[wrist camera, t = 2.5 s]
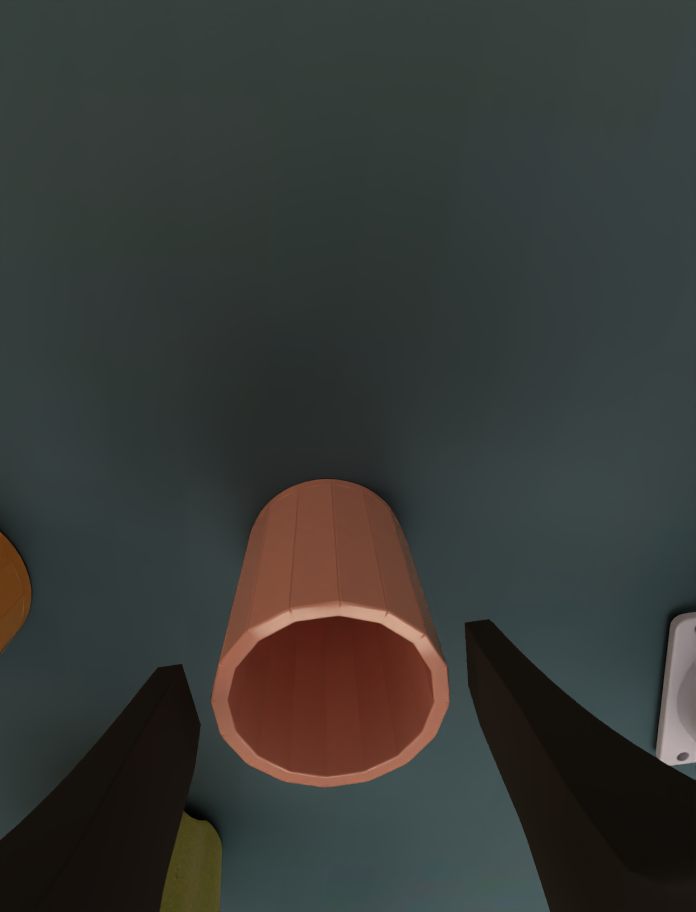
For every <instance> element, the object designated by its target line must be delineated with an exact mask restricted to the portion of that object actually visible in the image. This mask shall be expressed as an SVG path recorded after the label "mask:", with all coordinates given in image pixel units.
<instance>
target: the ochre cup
mask: <svg viewBox="0 0 696 912" xmlns="http://www.w3.org/2000/svg"><path fill="white" fill-rule="evenodd" d="M30 604H31V584H30V578H29V575H28V572H27V569H26V566H25V564H24V562H23V560H22V558H21V556H20V555H19V553H18V552H17V550H16V549H15V547H14V546H13V545H12V544H11V543H10V541H9V540H8V539H7V538H6V537H5V536H4V535H3V534H2V533H1V532H0V655H1V654H2V653H3V652H4V650H5V649H6V648H7V646H8V645H9V643H10V642H11V640H12V639H13V637H14V636H15V635H16V634H17V632H18V631H19V630H20V629H21V628H22V626H23V624H24V622H25V620H26V619H27V616H28V613H29V610H30Z"/></svg>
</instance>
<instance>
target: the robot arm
mask: <svg viewBox="0 0 696 912" xmlns="http://www.w3.org/2000/svg"><path fill="white" fill-rule="evenodd" d="M465 636H466V653H467V670H468V686H469V689H470V692H471V696H472V699H473V703H474V706H475V709H476V713H477V716H478V719H479V723H480V726H481V728H482V731H483V733H484V736H485V738H486V740H487V743H488V745H489V748H490V750H491V752H492V755H493V757H494V760H495V762H496V764H497V767H498V769H499V771H500V774H501V776H502V779H503V781H504V783H505V786H506V788H507V790H508V793H509V795H510V798H511V800H512V802H513V805H514V807H515V809H516V812H517V814H518V817H519V819H520V822H521V824H522V827H523V830H524V832H525V835H526V838H527V841H528V844H529V847H530V850H531V853H532V856H533V859H534V862H535V865H536V868H537V871H538V875H539V878H540V881H541V884H542V887H543V890H544V893H545V896H546V900H547V903H548V906H549V909H550V912H696V780H694V779H692V778H690V777H688V776H686V775H685V774H683V773H681V772H679V771H678V770H676V769H674V768H672V767H671V766H672V765H679V764H685V763H692V762H696V612H692V613H685V614H681V615H678V616H676V617H675V618H674V619H673V620H672V622H671V625H670V631H669V640H668V649H667V658H666V667H665V675H664V684H663V693H662V702H661V711H660V719H659V728H658V737H657V746H656V756H657V758H658V759H657V758H656V757H654V756H653V755H651V754H649V753H648V752H646V751H644V750H643V749H641V748H640V747H638V746H636V745H635V744H633V743H632V742H630V741H629V740H627V739H626V738H624V737H623V736H621V735H620V734H618V733H617V732H615V731H614V730H613V729H611V728H610V727H609V726H607V725H606V724H604V723H603V722H602V721H600V720H599V719H598V718H596V717H595V716H594V715H592V714H591V713H590V712H588V711H587V710H586V709H585V708H583V707H582V706H581V705H580V704H578V703H577V702H576V701H575V700H573V699H572V698H571V697H570V696H569V695H567V694H566V693H565V692H564V691H563V690H561V689H560V688H559V687H558V686H557V685H556V684H555V683H553V682H552V681H551V680H550V679H549V678H548V677H547V676H546V675H545V674H544V673H543V672H541V671H540V670H539V669H538V668H537V667H536V666H535V665H534V664H533V663H532V662H531V661H530V660H529V659H528V658H527V657H526V656H525V655H524V654H523V653H522V652H521V651H520V650H519V649H518V648H517V647H516V646H515V645H514V644H513V643H512V642H511V641H510V640H509V639H508V638H507V637H506V636H505V635H504V634H503V633H502V632H501V631H500V630H499V629H498V628H497V626H496V625H495V624H494V623H493V622H492V621H490V620H489V619H487V620H480V621H473V622H467V623H465ZM200 726H201V724H200V721H199V718H198V715H197V711H196V708H195V705H194V702H193V698H192V695H191V692H190V689H189V685H188V682H187V679H186V676H185V672H184V669H183V666H182V664H179V665H172V666H165V667H158V668H157V669H156V671H155V672H154V673H153V674H152V675H151V677H150V678H149V679H148V680H147V682H146V683H145V684H144V685H143V687H142V688H141V689H140V690H139V692H138V693H137V694H136V695H135V697H134V698H133V699H132V700H131V702H130V703H129V704H128V705H127V707H126V708H125V709H124V710H123V712H122V713H121V714H120V715H119V717H118V718H117V719H116V720H115V721H114V723H113V724H112V725H111V726H110V727H109V729H108V730H107V731H106V732H105V733H104V735H103V736H102V737H101V738H100V739H99V741H98V742H97V743H96V744H95V745H94V746H93V747H92V749H91V750H90V751H89V752H88V753H87V754H86V755H85V756H84V758H83V759H82V760H81V761H80V762H79V763H78V764H77V765H76V767H75V768H74V769H73V770H72V771H71V772H70V773H69V774H68V775H67V777H66V778H65V779H64V780H63V781H62V782H61V783H60V784H59V785H58V786H57V787H56V788H55V789H54V790H53V791H52V792H51V793H50V794H49V795H48V796H47V797H46V798H45V799H44V800H43V801H42V802H41V803H40V804H39V805H38V806H37V807H36V808H35V809H34V810H33V811H32V812H31V813H30V814H29V815H28V816H27V817H26V818H24V819H23V820H22V821H21V822H20V823H19V824H18V825H17V826H16V827H15V828H14V829H12V830H11V831H10V832H9V833H8V834H7V835H6V836H4V837H3V838H2V839H1V840H0V912H160V907H161V901H162V895H163V890H164V886H165V881H166V877H167V873H168V868H169V864H170V861H171V857H172V853H173V849H174V846H175V842H176V838H177V834H178V830H179V827H180V823H181V819H182V815H183V811H184V808H185V804H186V800H187V796H188V792H189V788H190V784H191V780H192V776H193V772H194V768H195V762H196V756H197V749H198V741H199V734H200Z"/></svg>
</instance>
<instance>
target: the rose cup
mask: <svg viewBox="0 0 696 912" xmlns="http://www.w3.org/2000/svg"><path fill="white" fill-rule="evenodd" d="M449 702H450V693H449V680H448V667H447V664H446V661H445V658H444V655H443V652H442V649H441V645H440V642H439V639H438V636H437V633H436V630H435V627H434V624H433V621H432V618H431V615H430V611H429V608H428V605H427V602H426V599H425V596H424V593H423V590H422V587H421V584H420V580H419V577H418V574H417V571H416V568H415V565H414V562H413V559H412V556H411V553H410V550H409V546H408V543H407V540H406V537H405V534H404V532H403V530H402V529H401V526H400V523H399V521H398V519H397V517H396V515H395V514H394V512H393V511H392V509H391V508H390V507H389V505H388V504H387V503H386V502H385V501H384V500H383V499H382V498H380V497H379V496H378V495H377V494H375V493H374V492H372V491H370V490H369V489H367V488H365V487H363V486H360V485H358V484H355V483H352V482H348V481H343V480H337V479H320V480H312V481H307V482H303V483H300V484H298V485H295V486H293V487H290V488H288V489H286V490H284V491H283V492H281V493H280V494H278V495H277V496H276V497H274V498H273V499H272V500H271V501H270V502H269V503H268V504H267V505H266V506H265V507H264V508H263V509H262V511H261V512H260V514H259V515H258V517H257V519H256V521H255V523H254V525H253V527H252V530H251V533H250V537H249V541H248V545H247V549H246V554H245V558H244V562H243V566H242V570H241V574H240V578H239V582H238V586H237V590H236V594H235V598H234V603H233V607H232V611H231V615H230V619H229V623H228V627H227V631H226V635H225V639H224V643H223V648H222V652H221V656H220V660H219V664H218V668H217V673H216V677H215V681H214V686H213V690H212V694H211V704H212V708H213V711H214V715H215V718H216V721H217V725H218V728H219V732H220V735H221V736H222V738H223V739H224V740H225V741H226V742H227V743H228V744H229V745H230V747H231V748H232V749H233V750H234V751H235V752H236V753H237V754H238V755H239V756H240V757H241V758H242V759H243V761H244V762H245V763H247V764H248V765H250V766H252V767H254V768H256V769H258V770H260V771H262V772H264V773H267V774H269V775H271V776H273V777H275V778H277V779H279V780H281V781H285V782H289V783H297V784H304V785H311V786H318V787H333V786H340V785H347V784H354V783H361V782H367V781H368V780H369V781H371V780H373V779H375V778H377V777H379V776H381V775H384V774H386V773H388V772H390V771H392V770H394V769H397V768H399V767H401V766H403V765H405V764H406V763H408V762H409V761H410V760H411V759H412V758H413V757H414V756H416V755H417V754H418V753H419V752H420V751H421V750H422V749H423V748H424V747H425V746H426V745H427V744H428V743H429V742H430V741H431V740H432V739H433V738H434V737H435V736H436V734H437V732H438V729H439V727H440V725H441V722H442V720H443V718H444V715H445V713H446V711H447V708H448V706H449Z"/></svg>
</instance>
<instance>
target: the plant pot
mask: <svg viewBox="0 0 696 912" xmlns="http://www.w3.org/2000/svg"><path fill="white" fill-rule="evenodd" d="M221 862H222V844H221V840H220V838H219V835H218V834H217V832H216V830H215V829H214V828H213V826H212V825H211V824H210V823H209V822H208V821H206V820H202V821H201V820H196V819H194V818H192V817H190V816H189V815H188V814H186V813H185V812H184V811H183V815H182V819H181V823H180V827H179V830H178V834H177V838H176V842H175V846H174V849H173V853H172V857H171V861H170V864H169V868H168V873H167V877H166V881H165V886H164V890H163V895H162V901H161V907H160V912H219V904H220V884H221Z"/></svg>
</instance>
